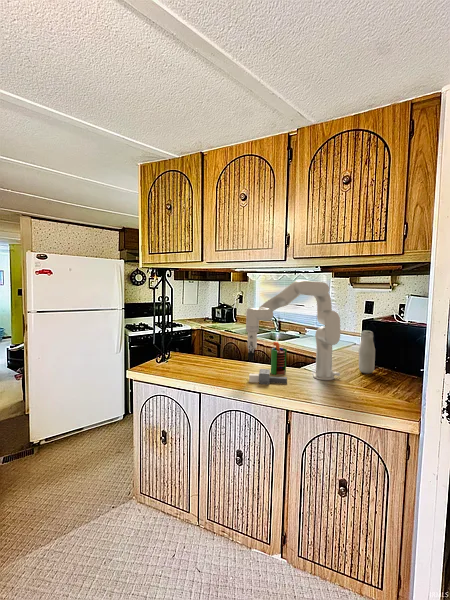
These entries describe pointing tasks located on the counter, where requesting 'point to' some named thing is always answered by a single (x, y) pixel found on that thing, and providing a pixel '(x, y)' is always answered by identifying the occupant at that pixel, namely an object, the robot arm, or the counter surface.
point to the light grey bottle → (366, 352)
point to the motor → (278, 359)
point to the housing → (264, 376)
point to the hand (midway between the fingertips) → (251, 357)
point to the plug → (272, 379)
